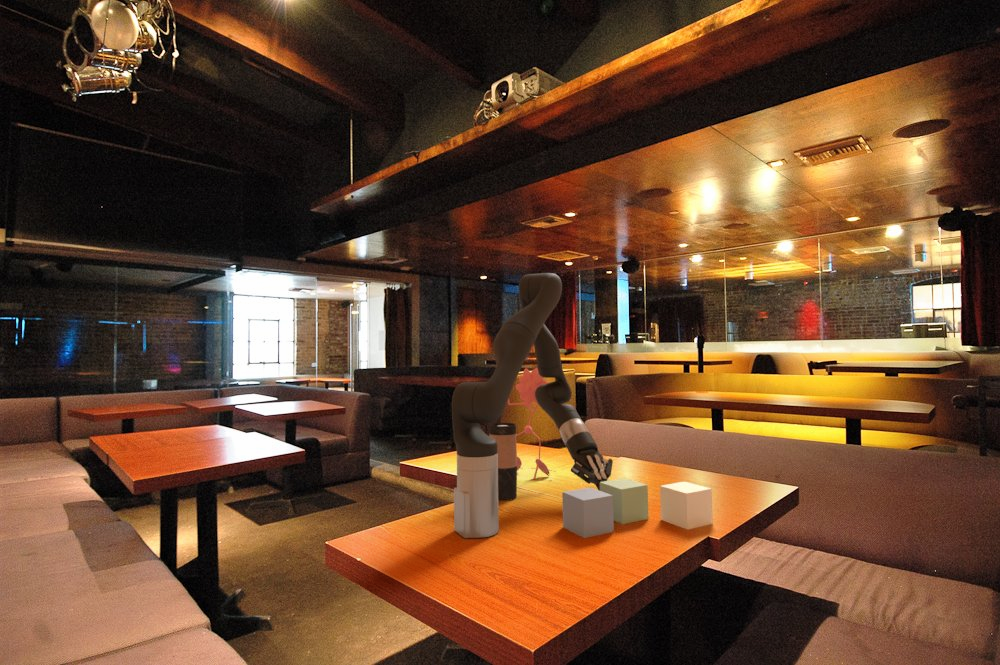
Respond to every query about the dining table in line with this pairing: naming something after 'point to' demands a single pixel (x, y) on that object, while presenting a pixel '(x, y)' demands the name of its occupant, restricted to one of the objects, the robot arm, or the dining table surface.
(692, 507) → the ivory block
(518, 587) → the dining table surface
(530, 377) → the pink flower figurine
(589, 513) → the slate block
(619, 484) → the sage block
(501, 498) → the travel mug
